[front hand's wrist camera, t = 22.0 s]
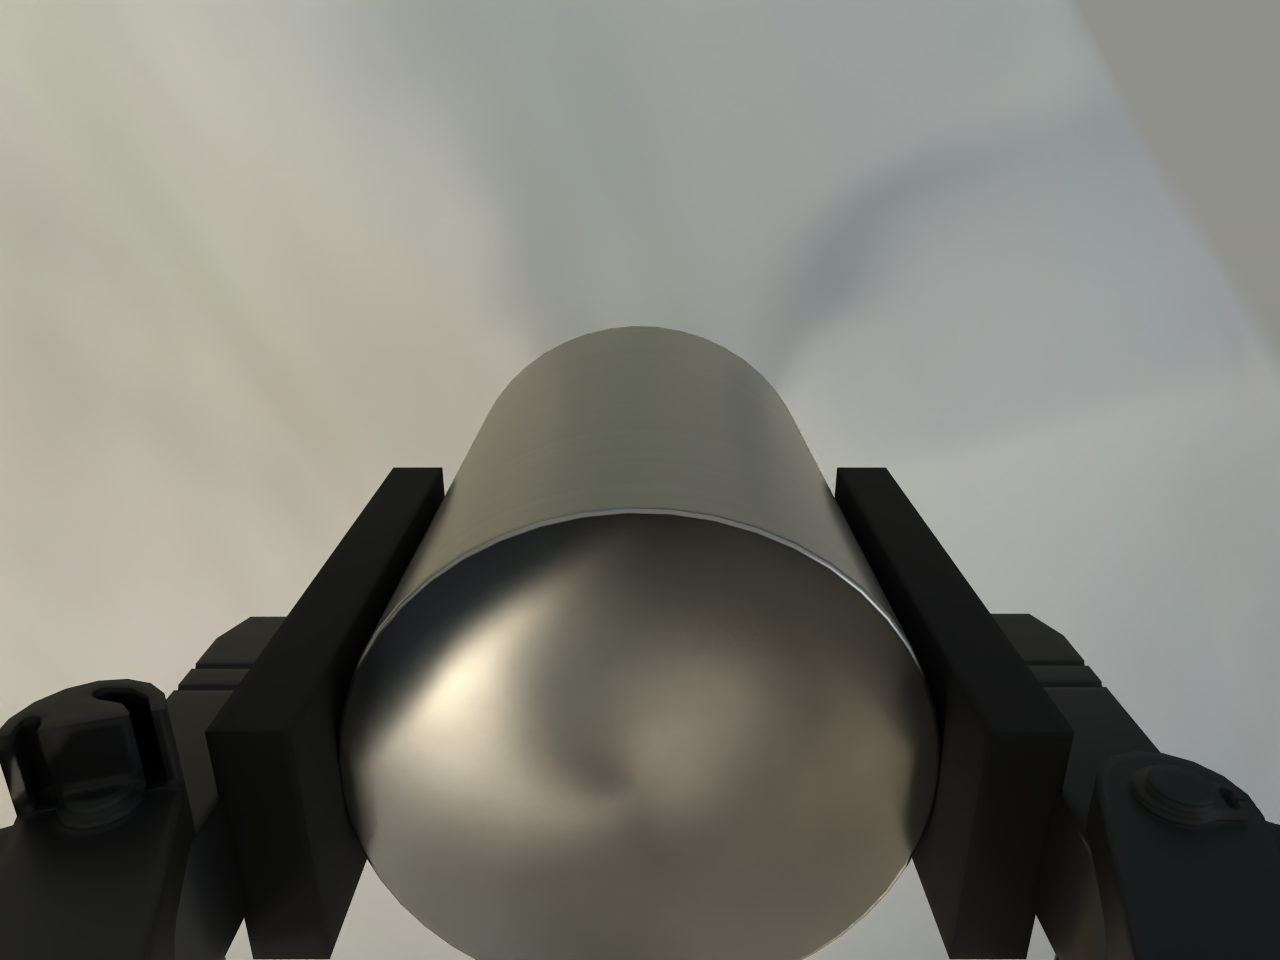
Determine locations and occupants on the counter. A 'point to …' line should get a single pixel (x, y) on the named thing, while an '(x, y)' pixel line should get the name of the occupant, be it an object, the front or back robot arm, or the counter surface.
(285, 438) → the counter surface
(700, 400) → the can
